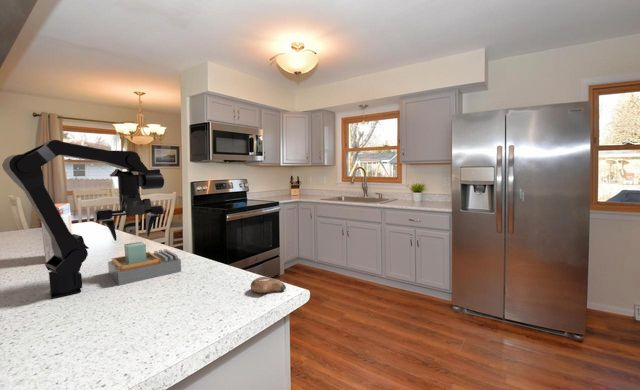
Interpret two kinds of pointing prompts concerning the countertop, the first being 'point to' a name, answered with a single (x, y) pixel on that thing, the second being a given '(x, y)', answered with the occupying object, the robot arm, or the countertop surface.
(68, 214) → the cracker box
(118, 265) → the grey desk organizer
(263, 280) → the brown rounded lump
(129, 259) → the mint green box
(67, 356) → the countertop surface
